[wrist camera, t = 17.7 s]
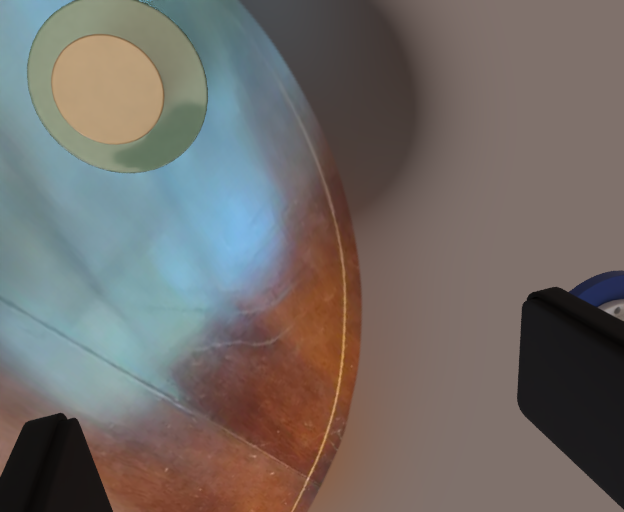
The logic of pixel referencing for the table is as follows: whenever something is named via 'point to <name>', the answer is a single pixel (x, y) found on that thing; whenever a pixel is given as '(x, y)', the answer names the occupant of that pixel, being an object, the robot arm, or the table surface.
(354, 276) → the table surface
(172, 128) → the cylinder on green disc
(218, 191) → the table surface
